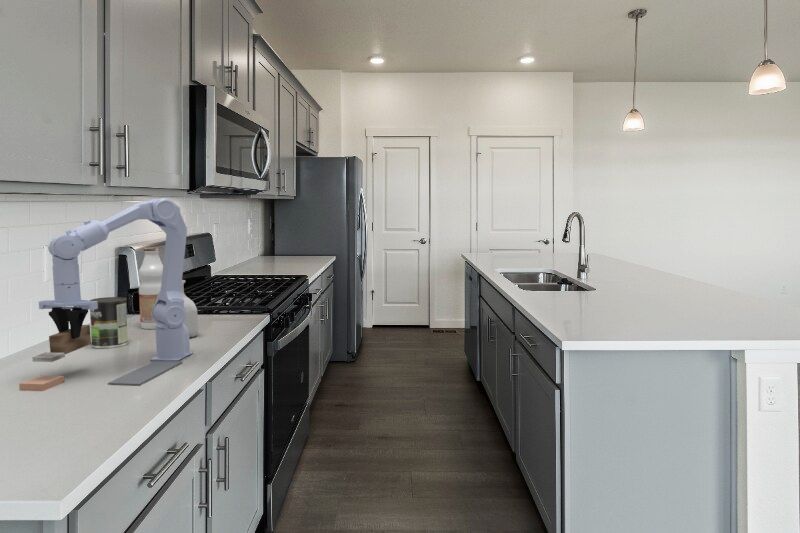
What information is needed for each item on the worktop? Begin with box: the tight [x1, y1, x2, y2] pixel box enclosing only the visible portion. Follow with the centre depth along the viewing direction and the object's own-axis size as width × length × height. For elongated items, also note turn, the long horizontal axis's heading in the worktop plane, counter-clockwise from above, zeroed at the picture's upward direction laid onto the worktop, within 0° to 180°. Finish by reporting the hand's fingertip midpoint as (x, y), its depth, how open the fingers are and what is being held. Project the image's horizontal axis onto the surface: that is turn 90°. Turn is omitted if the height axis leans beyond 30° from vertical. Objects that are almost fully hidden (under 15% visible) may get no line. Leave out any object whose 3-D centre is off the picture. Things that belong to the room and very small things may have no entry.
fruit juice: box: [138, 246, 163, 330], centre depth 212 cm, size 9×9×28 cm
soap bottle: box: [181, 279, 199, 338], centre depth 195 cm, size 10×10×23 cm
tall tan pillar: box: [32, 324, 92, 363], centre depth 150 cm, size 16×5×5 cm, turn 173°
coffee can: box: [88, 296, 129, 349], centre depth 185 cm, size 10×10×14 cm
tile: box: [18, 374, 65, 392], centre depth 142 cm, size 2×6×7 cm
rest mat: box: [107, 360, 184, 386], centre depth 153 cm, size 21×8×1 cm, turn 173°
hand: (70, 337), depth 151 cm, fingers closed on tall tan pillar, 2 cm apart
